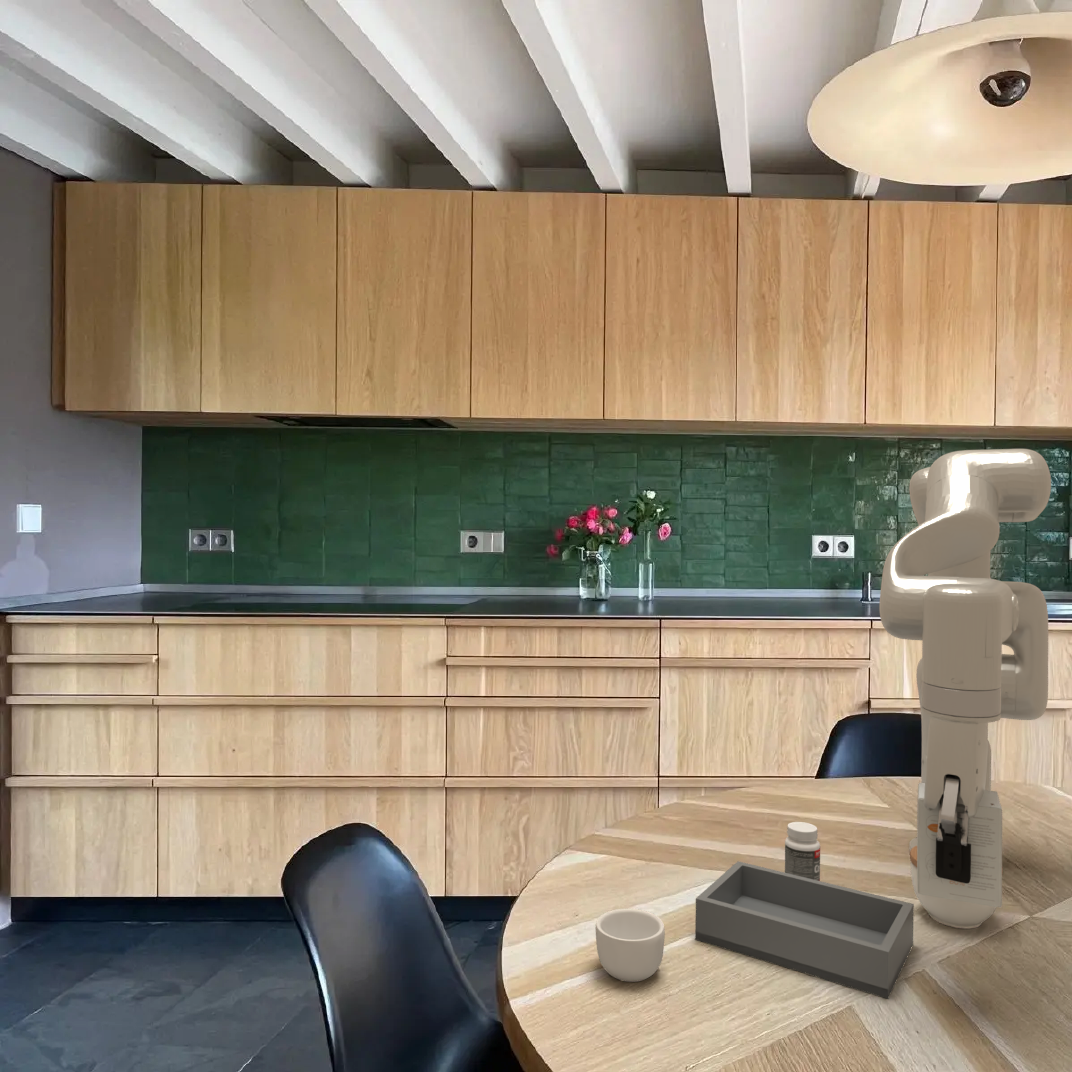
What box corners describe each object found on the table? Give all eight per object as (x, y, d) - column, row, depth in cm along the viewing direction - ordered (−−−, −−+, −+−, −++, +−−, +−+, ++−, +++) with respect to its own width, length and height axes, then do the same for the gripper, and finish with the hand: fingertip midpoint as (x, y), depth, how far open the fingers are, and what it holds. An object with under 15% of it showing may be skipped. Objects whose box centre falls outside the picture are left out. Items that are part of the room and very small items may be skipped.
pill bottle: (822, 895, 114) (822, 834, 114) (786, 891, 115) (786, 831, 115) (817, 880, 118) (818, 822, 118) (782, 877, 119) (783, 819, 119)
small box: (998, 887, 90) (999, 790, 90) (1002, 909, 85) (1004, 807, 84) (916, 873, 93) (917, 780, 93) (916, 894, 88) (917, 796, 88)
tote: (737, 897, 113) (737, 861, 113) (913, 945, 100) (913, 904, 100) (695, 939, 101) (695, 898, 101) (887, 998, 89) (888, 952, 89)
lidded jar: (901, 922, 106) (902, 849, 106) (917, 892, 115) (918, 824, 115) (997, 946, 100) (998, 869, 100) (1005, 913, 109) (1006, 841, 109)
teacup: (639, 999, 88) (639, 948, 88) (581, 973, 93) (581, 925, 93) (686, 962, 96) (687, 915, 96) (630, 940, 101) (631, 896, 101)
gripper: (935, 682, 98) (933, 833, 98) (906, 712, 83) (903, 889, 84) (1008, 690, 93) (1006, 848, 94) (991, 723, 79) (988, 909, 80)
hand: (957, 865), depth 89 cm, fingers closed on small box, 6 cm apart
